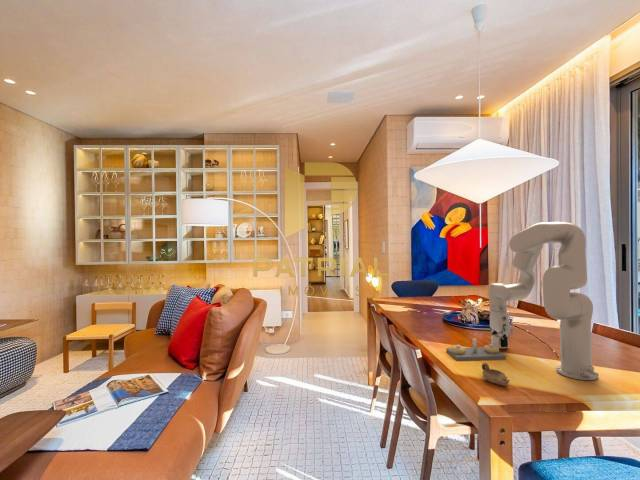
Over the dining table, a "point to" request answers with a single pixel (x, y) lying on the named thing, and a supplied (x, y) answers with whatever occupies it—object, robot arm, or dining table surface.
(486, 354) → the gear board
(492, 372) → the brown duck figurine
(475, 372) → the dining table surface
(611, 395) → the dining table surface
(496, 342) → the loose gear
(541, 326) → the dining table surface
